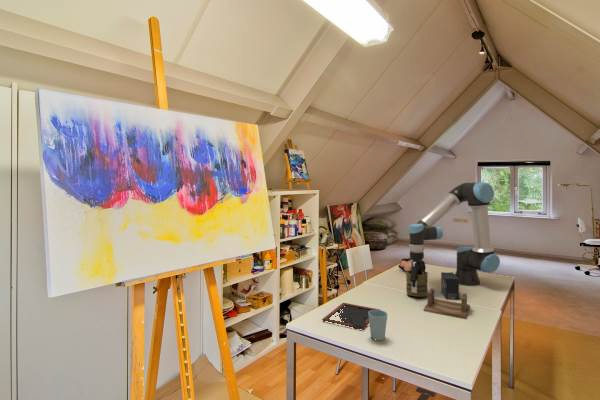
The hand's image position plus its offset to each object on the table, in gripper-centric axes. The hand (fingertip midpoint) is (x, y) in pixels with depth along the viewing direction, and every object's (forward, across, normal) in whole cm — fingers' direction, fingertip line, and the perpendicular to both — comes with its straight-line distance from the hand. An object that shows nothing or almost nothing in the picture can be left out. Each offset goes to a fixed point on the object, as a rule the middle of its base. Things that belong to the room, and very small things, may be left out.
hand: (416, 289), depth 186 cm
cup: (+3, +61, -1) cm, 61 cm away
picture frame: (+4, +46, -19) cm, 50 cm away
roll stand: (+4, +12, +18) cm, 22 cm away
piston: (+2, 0, 0) cm, 2 cm away
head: (+4, -48, -15) cm, 51 cm away
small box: (+4, -10, +16) cm, 19 cm away
